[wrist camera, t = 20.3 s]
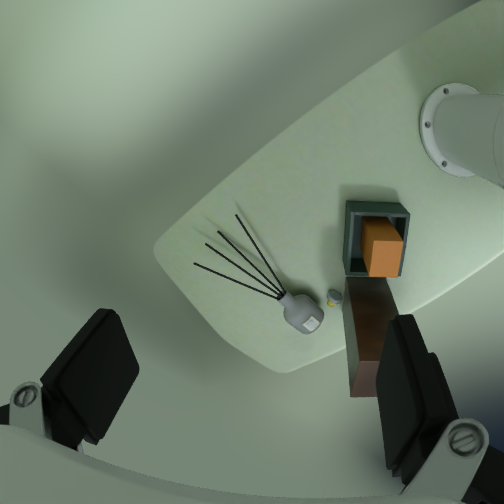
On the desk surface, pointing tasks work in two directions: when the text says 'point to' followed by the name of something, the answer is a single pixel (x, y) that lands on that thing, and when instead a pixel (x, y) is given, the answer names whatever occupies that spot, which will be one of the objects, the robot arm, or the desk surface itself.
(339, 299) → the reed diffuser
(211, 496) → the robot arm
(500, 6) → the desk surface
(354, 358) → the stand
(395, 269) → the orange block
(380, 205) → the bin
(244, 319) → the desk surface
